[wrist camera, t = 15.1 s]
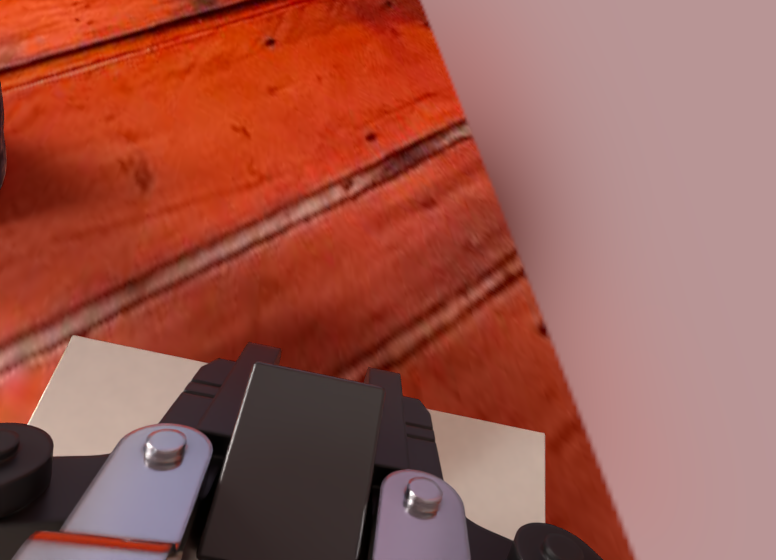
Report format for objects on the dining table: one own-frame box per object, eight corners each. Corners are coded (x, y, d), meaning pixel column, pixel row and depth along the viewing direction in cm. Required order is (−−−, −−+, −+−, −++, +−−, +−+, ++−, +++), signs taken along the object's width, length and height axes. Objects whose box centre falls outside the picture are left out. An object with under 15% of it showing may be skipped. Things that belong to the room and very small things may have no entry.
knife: (317, 488, 24) (394, 343, 8) (297, 585, 22) (345, 658, 6) (276, 480, 24) (266, 314, 8) (252, 577, 22) (171, 630, 6)
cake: (500, 446, 29) (564, 414, 23) (487, 769, 22) (574, 857, 16) (113, 367, 27) (61, 307, 21) (-34, 693, 20) (-181, 757, 14)
